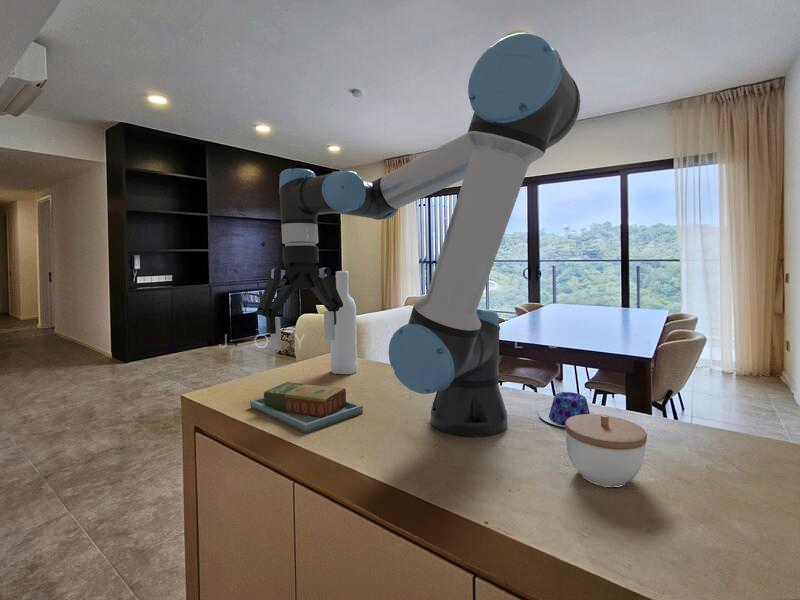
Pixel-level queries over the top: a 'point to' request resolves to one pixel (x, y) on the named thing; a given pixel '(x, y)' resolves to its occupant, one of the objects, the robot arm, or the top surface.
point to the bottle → (344, 330)
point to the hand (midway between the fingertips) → (304, 344)
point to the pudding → (565, 408)
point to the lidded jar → (605, 448)
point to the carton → (305, 399)
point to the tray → (307, 416)
